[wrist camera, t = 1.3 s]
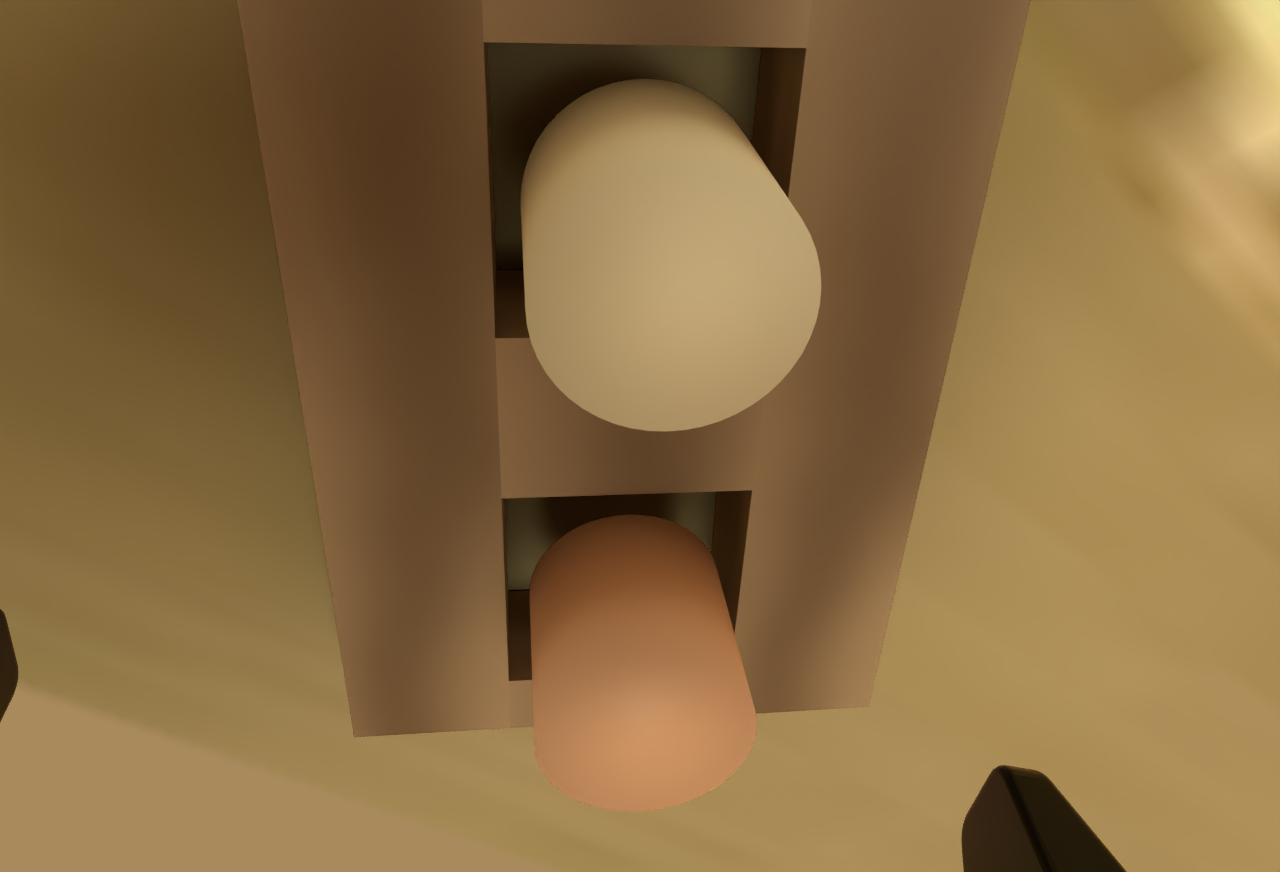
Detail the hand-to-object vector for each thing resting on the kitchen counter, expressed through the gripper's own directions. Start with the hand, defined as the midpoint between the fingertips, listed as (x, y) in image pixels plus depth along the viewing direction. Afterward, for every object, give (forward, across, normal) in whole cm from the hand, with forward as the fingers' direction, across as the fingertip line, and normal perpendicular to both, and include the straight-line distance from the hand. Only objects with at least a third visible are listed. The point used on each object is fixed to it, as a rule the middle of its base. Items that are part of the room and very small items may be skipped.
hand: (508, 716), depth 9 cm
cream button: (+10, 0, -1) cm, 10 cm away
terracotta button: (+10, -2, +7) cm, 12 cm away
